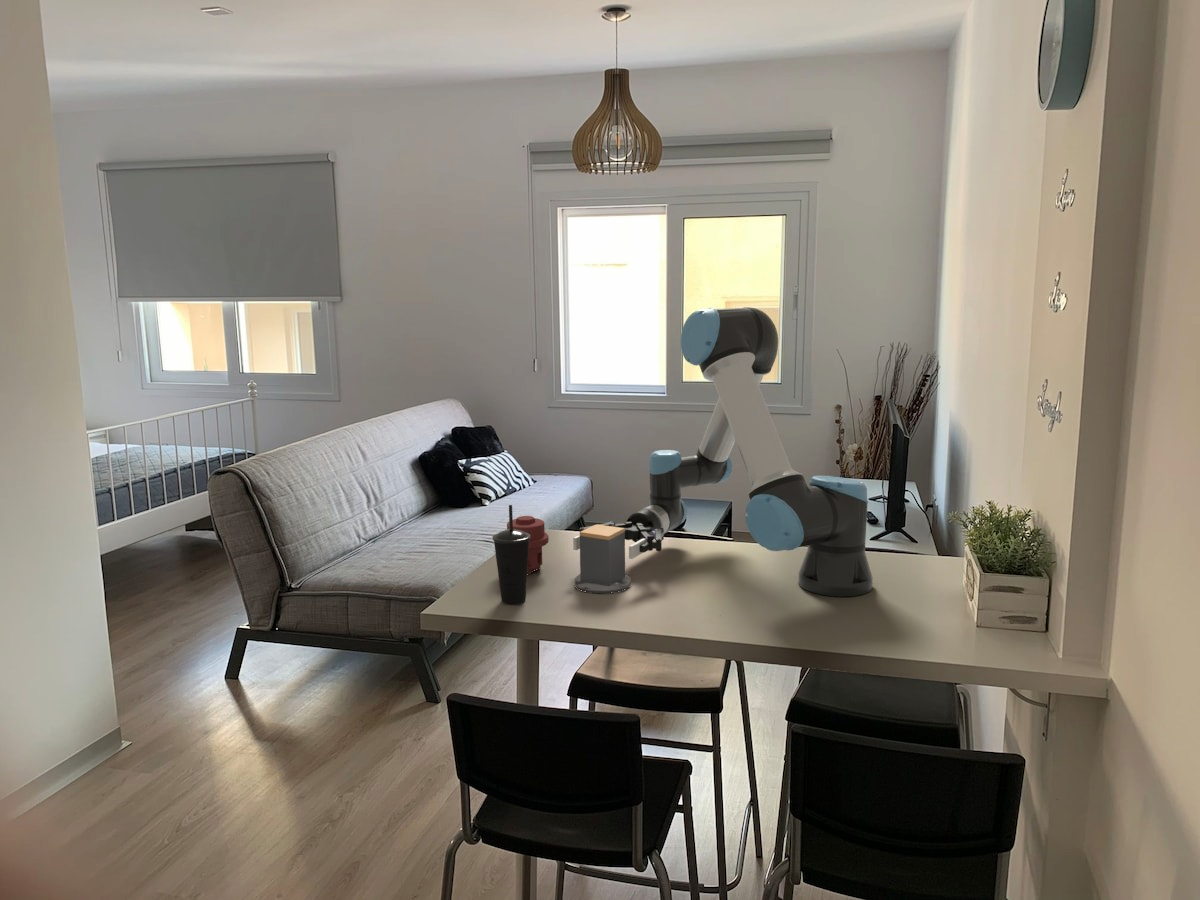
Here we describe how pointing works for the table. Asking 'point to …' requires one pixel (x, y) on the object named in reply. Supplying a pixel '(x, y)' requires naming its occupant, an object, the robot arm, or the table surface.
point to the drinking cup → (512, 562)
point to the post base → (597, 588)
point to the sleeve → (602, 554)
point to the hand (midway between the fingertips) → (602, 548)
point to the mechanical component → (532, 539)
